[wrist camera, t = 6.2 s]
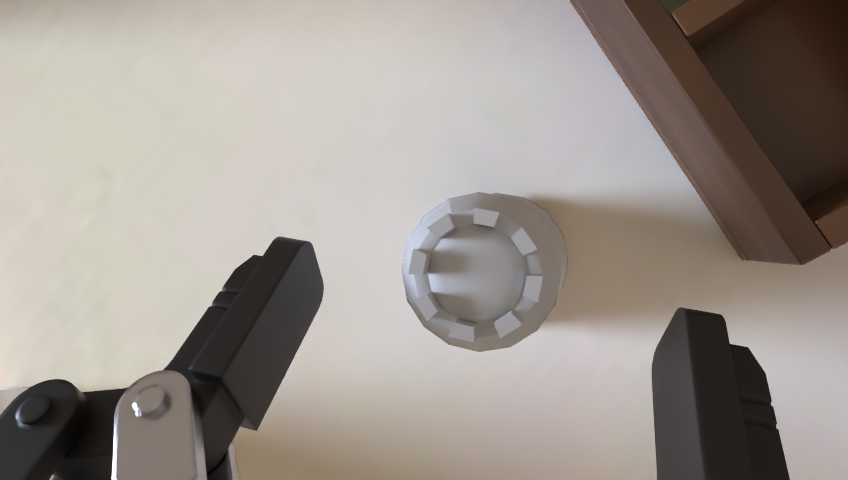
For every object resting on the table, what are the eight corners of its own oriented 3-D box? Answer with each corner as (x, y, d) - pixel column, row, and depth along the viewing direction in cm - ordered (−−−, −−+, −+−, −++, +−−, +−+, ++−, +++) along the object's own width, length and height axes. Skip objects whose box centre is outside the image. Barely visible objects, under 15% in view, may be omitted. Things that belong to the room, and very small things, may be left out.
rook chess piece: (416, 225, 18) (327, 212, 10) (535, 173, 17) (539, 115, 9) (464, 343, 17) (410, 426, 10) (588, 296, 17) (640, 346, 9)
